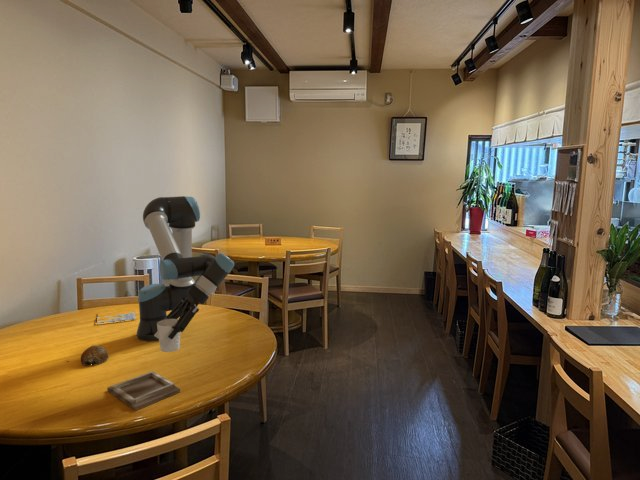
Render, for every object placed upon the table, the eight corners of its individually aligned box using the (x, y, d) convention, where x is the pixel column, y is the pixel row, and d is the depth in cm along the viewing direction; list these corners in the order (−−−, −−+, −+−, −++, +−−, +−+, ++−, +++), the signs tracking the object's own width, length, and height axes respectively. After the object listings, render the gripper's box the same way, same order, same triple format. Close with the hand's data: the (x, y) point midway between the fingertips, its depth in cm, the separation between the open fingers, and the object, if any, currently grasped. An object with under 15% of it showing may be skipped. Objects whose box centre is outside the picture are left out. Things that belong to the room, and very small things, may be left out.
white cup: (175, 353, 155) (173, 326, 154) (154, 352, 157) (152, 325, 155) (185, 345, 163) (183, 319, 161) (166, 344, 164) (164, 318, 163)
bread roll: (111, 367, 180) (116, 348, 182) (92, 367, 171) (97, 346, 173) (92, 364, 183) (97, 344, 185) (72, 363, 174) (78, 343, 176)
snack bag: (94, 326, 219) (94, 322, 218) (97, 314, 237) (97, 310, 237) (136, 321, 226) (135, 317, 226) (135, 310, 244) (135, 306, 244)
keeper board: (107, 390, 154) (107, 384, 153) (150, 374, 166) (150, 368, 165) (135, 410, 141) (135, 403, 141) (180, 392, 153) (179, 385, 153)
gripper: (218, 302, 157) (175, 356, 151) (200, 290, 174) (161, 337, 168) (203, 290, 153) (158, 345, 147) (186, 278, 170) (145, 327, 164)
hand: (159, 341), depth 157 cm, fingers closed on white cup, 8 cm apart
